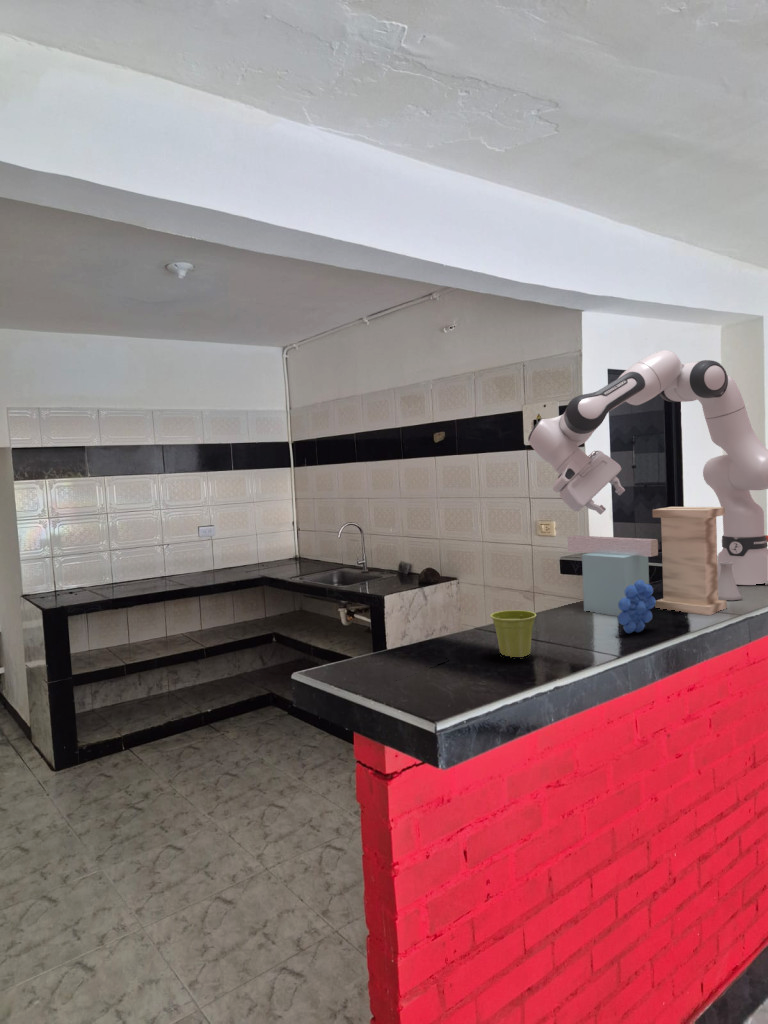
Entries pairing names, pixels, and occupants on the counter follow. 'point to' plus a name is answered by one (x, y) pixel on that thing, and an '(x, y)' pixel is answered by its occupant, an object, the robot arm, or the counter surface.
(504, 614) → the plant pot
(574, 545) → the pink bar
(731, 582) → the flask
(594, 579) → the block
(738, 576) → the robot arm
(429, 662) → the counter surface
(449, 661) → the counter surface
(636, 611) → the grapes
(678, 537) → the birch stand
